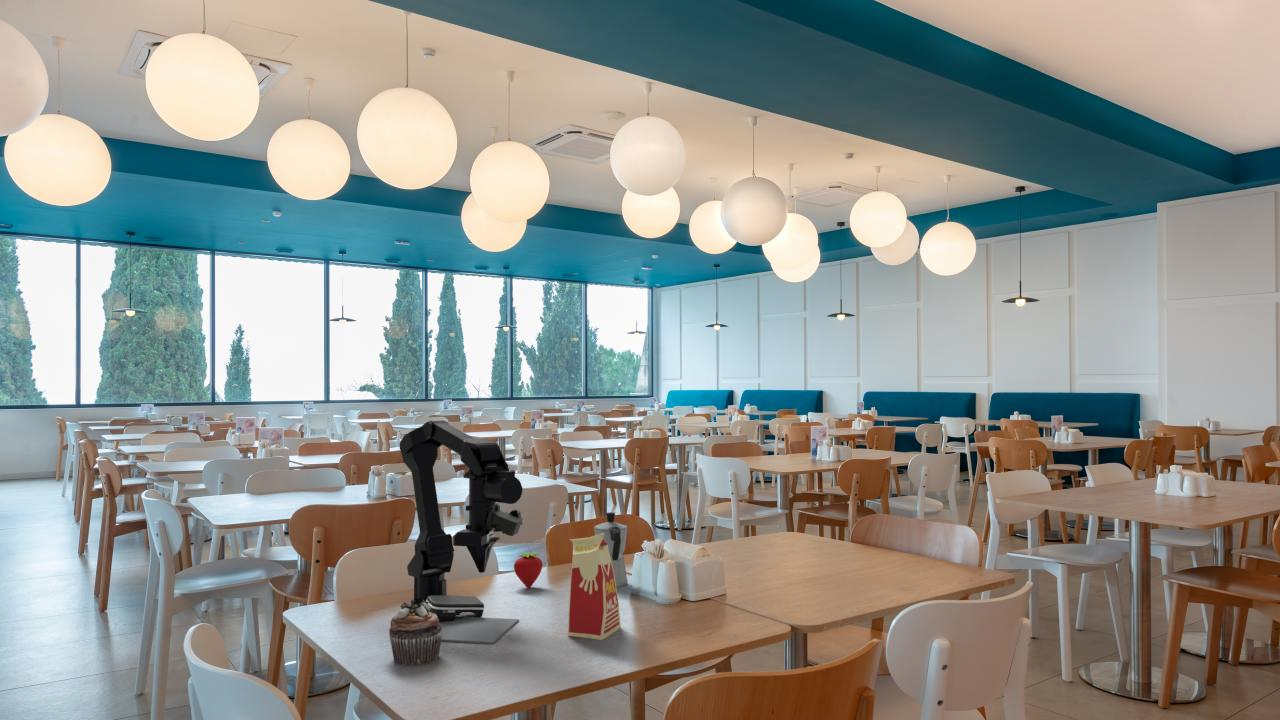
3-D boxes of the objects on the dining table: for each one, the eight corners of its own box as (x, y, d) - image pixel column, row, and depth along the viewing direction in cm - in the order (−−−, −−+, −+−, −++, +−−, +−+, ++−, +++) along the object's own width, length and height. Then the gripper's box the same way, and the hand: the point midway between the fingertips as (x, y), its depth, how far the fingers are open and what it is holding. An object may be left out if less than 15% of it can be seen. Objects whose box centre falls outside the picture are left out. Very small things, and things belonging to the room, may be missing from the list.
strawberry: (509, 587, 201) (509, 547, 201) (535, 583, 205) (535, 543, 206) (520, 592, 196) (520, 550, 197) (547, 587, 201) (547, 547, 201)
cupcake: (392, 670, 141) (392, 612, 141) (386, 653, 150) (386, 599, 150) (447, 662, 145) (448, 606, 145) (438, 647, 154) (438, 594, 154)
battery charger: (472, 612, 178) (421, 612, 173) (475, 595, 179) (424, 594, 173) (483, 622, 172) (430, 622, 167) (486, 604, 173) (433, 604, 167)
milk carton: (620, 627, 166) (620, 529, 167) (604, 640, 158) (604, 537, 158) (580, 623, 169) (580, 527, 170) (561, 636, 161) (561, 534, 161)
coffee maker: (589, 579, 210) (589, 509, 210) (622, 577, 212) (622, 508, 212) (600, 593, 195) (600, 518, 196) (635, 590, 197) (635, 516, 198)
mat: (405, 639, 158) (405, 637, 158) (438, 617, 174) (438, 615, 174) (492, 644, 155) (492, 641, 155) (518, 621, 171) (518, 619, 171)
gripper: (503, 506, 165) (503, 583, 164) (530, 495, 184) (530, 564, 183) (452, 505, 167) (451, 581, 166) (484, 494, 185) (483, 562, 185)
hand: (482, 572), depth 175 cm, fingers closed
